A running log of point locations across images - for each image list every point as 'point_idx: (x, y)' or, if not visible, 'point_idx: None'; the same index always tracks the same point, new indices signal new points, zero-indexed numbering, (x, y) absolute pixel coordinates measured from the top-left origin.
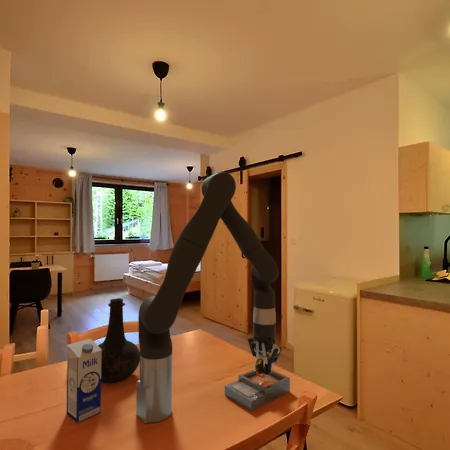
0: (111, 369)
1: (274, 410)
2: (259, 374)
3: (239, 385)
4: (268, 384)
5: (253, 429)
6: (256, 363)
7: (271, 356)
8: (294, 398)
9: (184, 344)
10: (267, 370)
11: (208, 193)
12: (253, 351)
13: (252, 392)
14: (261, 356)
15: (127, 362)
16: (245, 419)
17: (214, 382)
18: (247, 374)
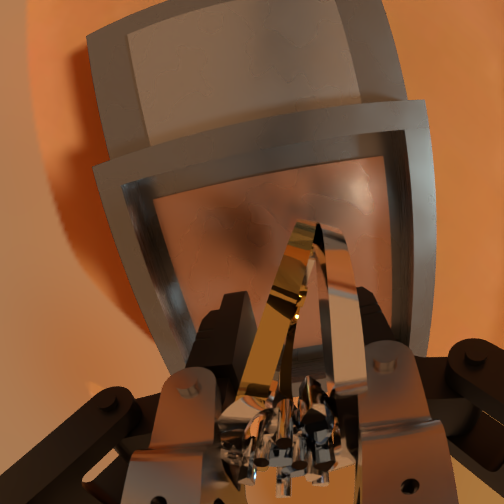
0: None
1: (79, 172)
2: (310, 263)
3: (313, 43)
4: (215, 265)
5: (26, 24)
6: (320, 281)
7: (59, 467)
8: (139, 327)
9: None
10: (208, 328)
11: None
12: (498, 394)
13: (162, 82)
14: (304, 424)
15: None
16: (84, 5)
17: (496, 49)
18: (408, 191)
